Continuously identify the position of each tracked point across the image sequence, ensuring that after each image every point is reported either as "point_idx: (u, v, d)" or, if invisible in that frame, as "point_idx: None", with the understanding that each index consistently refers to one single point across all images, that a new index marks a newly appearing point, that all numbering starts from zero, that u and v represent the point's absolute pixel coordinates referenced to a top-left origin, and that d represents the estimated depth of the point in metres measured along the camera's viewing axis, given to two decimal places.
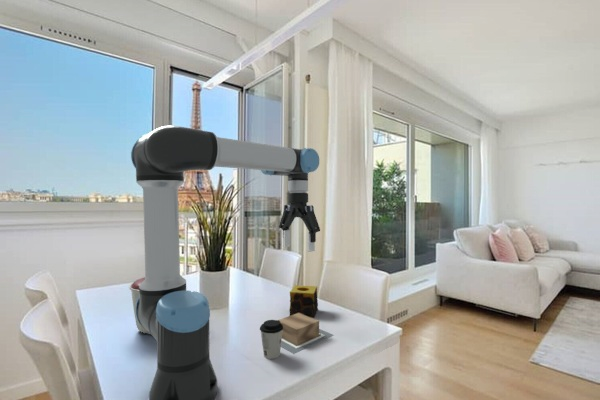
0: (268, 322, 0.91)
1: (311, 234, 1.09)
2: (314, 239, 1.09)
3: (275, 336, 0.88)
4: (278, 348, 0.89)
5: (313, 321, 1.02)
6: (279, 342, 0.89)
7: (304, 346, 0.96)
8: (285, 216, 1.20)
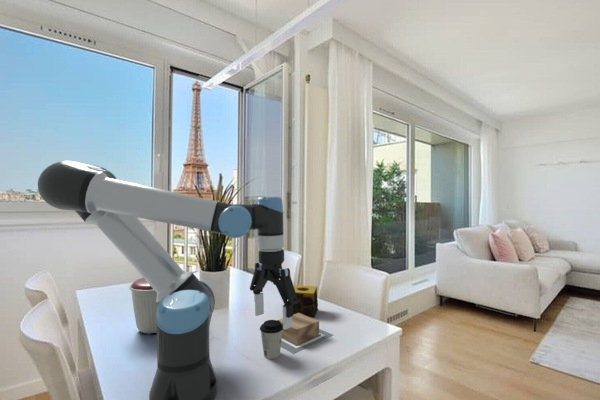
0: (268, 322, 0.91)
1: (287, 307, 0.85)
2: (291, 313, 0.85)
3: (275, 336, 0.88)
4: (278, 348, 0.89)
5: (313, 321, 1.02)
6: (279, 342, 0.89)
7: (304, 346, 0.96)
8: (257, 276, 0.95)
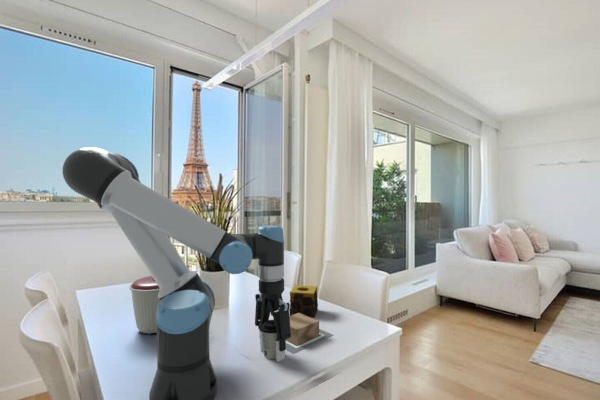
0: (268, 322, 0.91)
1: None
2: (284, 347, 0.87)
3: (275, 336, 0.88)
4: None
5: (313, 321, 1.02)
6: None
7: (304, 346, 0.96)
8: (259, 309, 0.94)
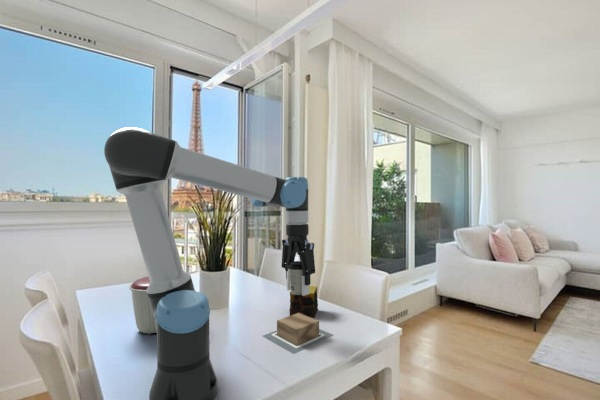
0: (294, 262, 1.03)
1: (305, 276, 0.99)
2: (309, 282, 0.99)
3: (301, 273, 1.00)
4: None
5: (313, 321, 1.02)
6: None
7: (304, 346, 0.96)
8: (285, 252, 1.07)
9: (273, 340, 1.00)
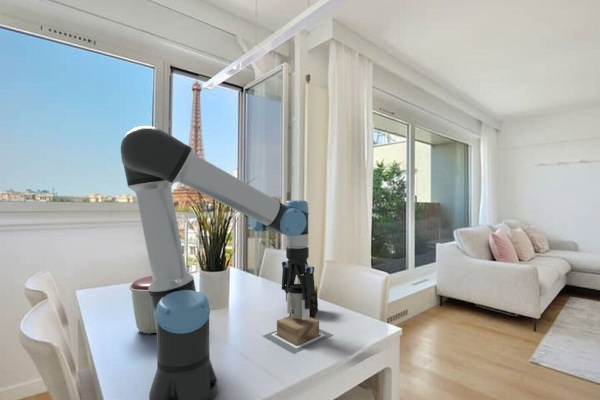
0: (294, 285, 1.03)
1: (305, 299, 0.99)
2: (309, 305, 0.99)
3: (301, 296, 1.00)
4: None
5: (313, 321, 1.02)
6: None
7: (304, 346, 0.96)
8: (286, 274, 1.07)
9: (273, 340, 1.00)
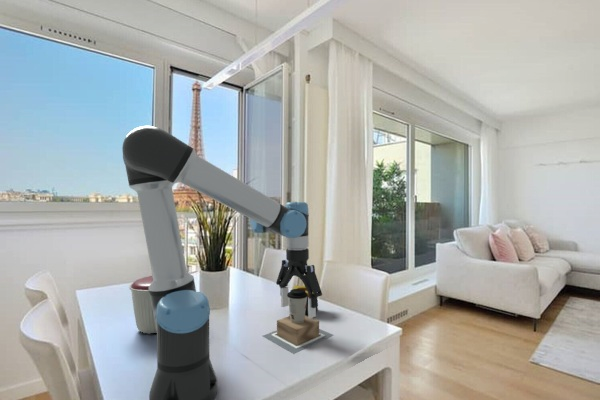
0: (294, 290, 1.03)
1: (312, 299, 0.97)
2: (315, 304, 0.97)
3: (301, 302, 1.00)
4: (303, 312, 1.02)
5: (313, 321, 1.02)
6: (304, 307, 1.02)
7: (304, 346, 0.96)
8: (283, 272, 1.08)
9: (273, 340, 1.00)
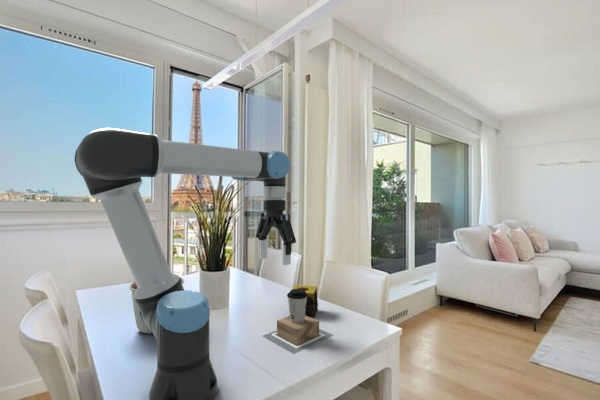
0: (294, 290, 1.03)
1: (286, 246, 0.99)
2: (289, 251, 0.99)
3: (301, 302, 1.00)
4: (303, 313, 1.01)
5: (313, 321, 1.02)
6: (304, 307, 1.02)
7: (304, 346, 0.96)
8: (262, 225, 1.10)
9: (273, 340, 1.00)
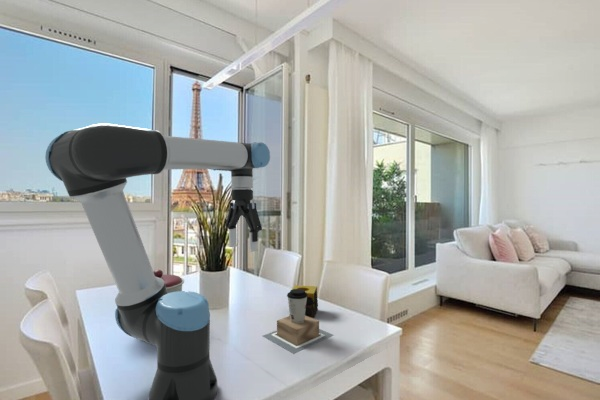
0: (294, 290, 1.03)
1: (253, 233, 1.03)
2: (256, 238, 1.03)
3: (301, 302, 1.00)
4: (303, 313, 1.01)
5: (313, 321, 1.02)
6: (304, 307, 1.02)
7: (304, 346, 0.96)
8: (231, 214, 1.14)
9: (273, 340, 1.00)
